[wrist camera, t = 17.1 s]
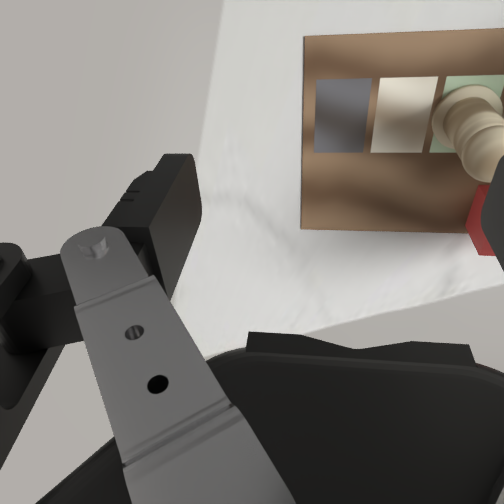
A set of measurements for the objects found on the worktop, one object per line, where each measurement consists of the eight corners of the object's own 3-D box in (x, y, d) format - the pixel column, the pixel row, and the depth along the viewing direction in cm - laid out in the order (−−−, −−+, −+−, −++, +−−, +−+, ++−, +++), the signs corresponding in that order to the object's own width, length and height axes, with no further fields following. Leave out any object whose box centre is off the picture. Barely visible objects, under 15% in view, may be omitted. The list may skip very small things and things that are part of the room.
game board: (305, 34, 34) (304, 36, 34) (597, 23, 31) (601, 24, 31) (301, 226, 47) (301, 229, 47) (509, 230, 44) (511, 234, 44)
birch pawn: (439, 84, 35) (472, 129, 28) (509, 83, 34) (561, 129, 27) (425, 145, 39) (451, 200, 31) (488, 145, 38) (529, 201, 30)
